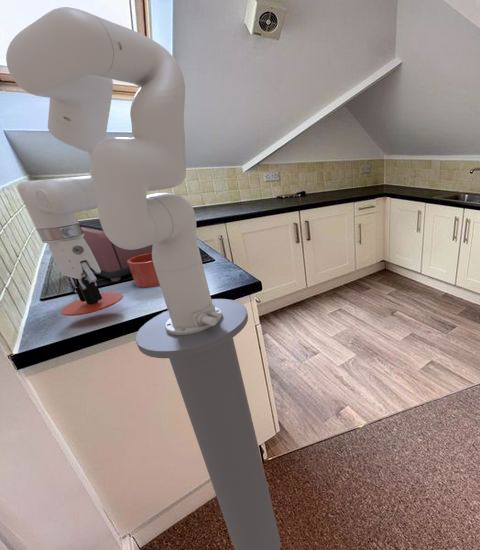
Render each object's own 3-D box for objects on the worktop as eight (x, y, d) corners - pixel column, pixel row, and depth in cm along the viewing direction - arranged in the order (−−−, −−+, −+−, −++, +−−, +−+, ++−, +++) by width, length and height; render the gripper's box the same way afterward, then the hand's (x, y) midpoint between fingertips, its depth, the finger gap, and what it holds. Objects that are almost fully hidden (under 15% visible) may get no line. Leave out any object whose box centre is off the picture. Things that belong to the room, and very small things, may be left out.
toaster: (206, 252, 132) (196, 212, 125) (112, 283, 102) (93, 232, 95) (165, 245, 145) (154, 208, 138) (71, 270, 115) (51, 224, 109)
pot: (182, 276, 106) (175, 254, 103) (148, 289, 97) (140, 265, 93) (162, 272, 111) (155, 250, 108) (128, 284, 101) (119, 260, 98)
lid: (133, 299, 83) (124, 277, 80) (77, 322, 72) (65, 297, 70) (108, 293, 88) (100, 272, 85) (53, 313, 77) (41, 290, 75)
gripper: (97, 231, 72) (124, 299, 79) (65, 227, 79) (93, 290, 86) (57, 239, 66) (90, 312, 73) (26, 234, 73) (59, 301, 80)
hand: (91, 299), depth 79 cm, fingers closed on lid, 2 cm apart
